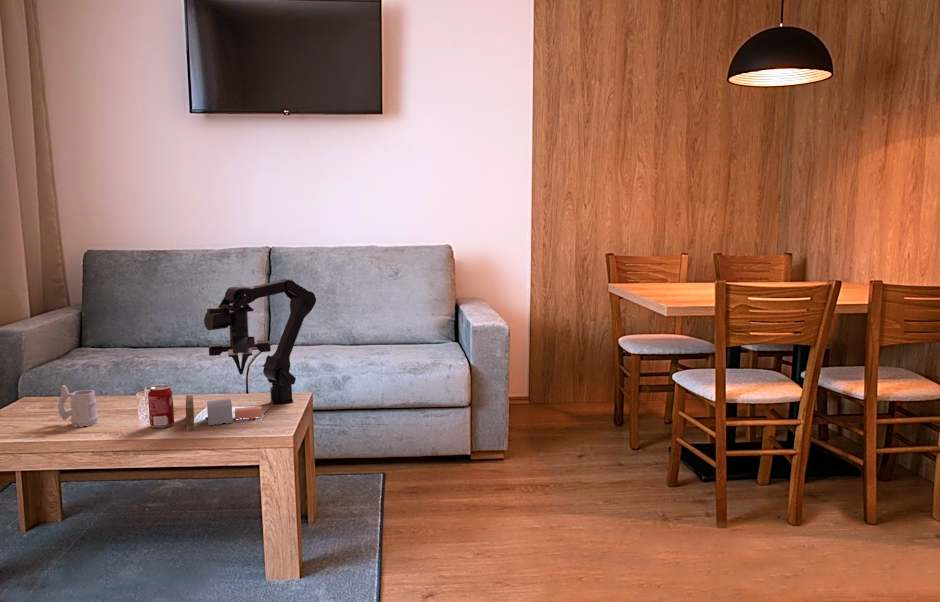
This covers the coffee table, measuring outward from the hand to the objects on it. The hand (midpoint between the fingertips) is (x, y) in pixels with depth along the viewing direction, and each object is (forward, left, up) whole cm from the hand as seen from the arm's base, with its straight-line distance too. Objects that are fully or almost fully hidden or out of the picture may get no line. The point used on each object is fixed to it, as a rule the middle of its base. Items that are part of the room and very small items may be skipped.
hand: (241, 374), depth 232 cm
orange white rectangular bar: (-1, +9, -12) cm, 15 cm away
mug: (+48, -4, -12) cm, 49 cm away
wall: (+16, +9, -12) cm, 22 cm away
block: (+7, +9, -12) cm, 17 cm away
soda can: (+24, +8, -12) cm, 28 cm away
